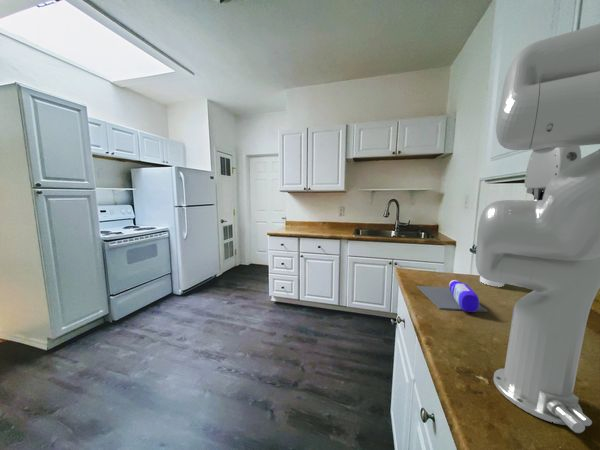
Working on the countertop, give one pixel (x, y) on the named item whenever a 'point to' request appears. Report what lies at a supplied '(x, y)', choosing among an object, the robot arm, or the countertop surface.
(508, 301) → the countertop surface
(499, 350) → the countertop surface
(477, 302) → the bottle
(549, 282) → the robot arm
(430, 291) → the mat
